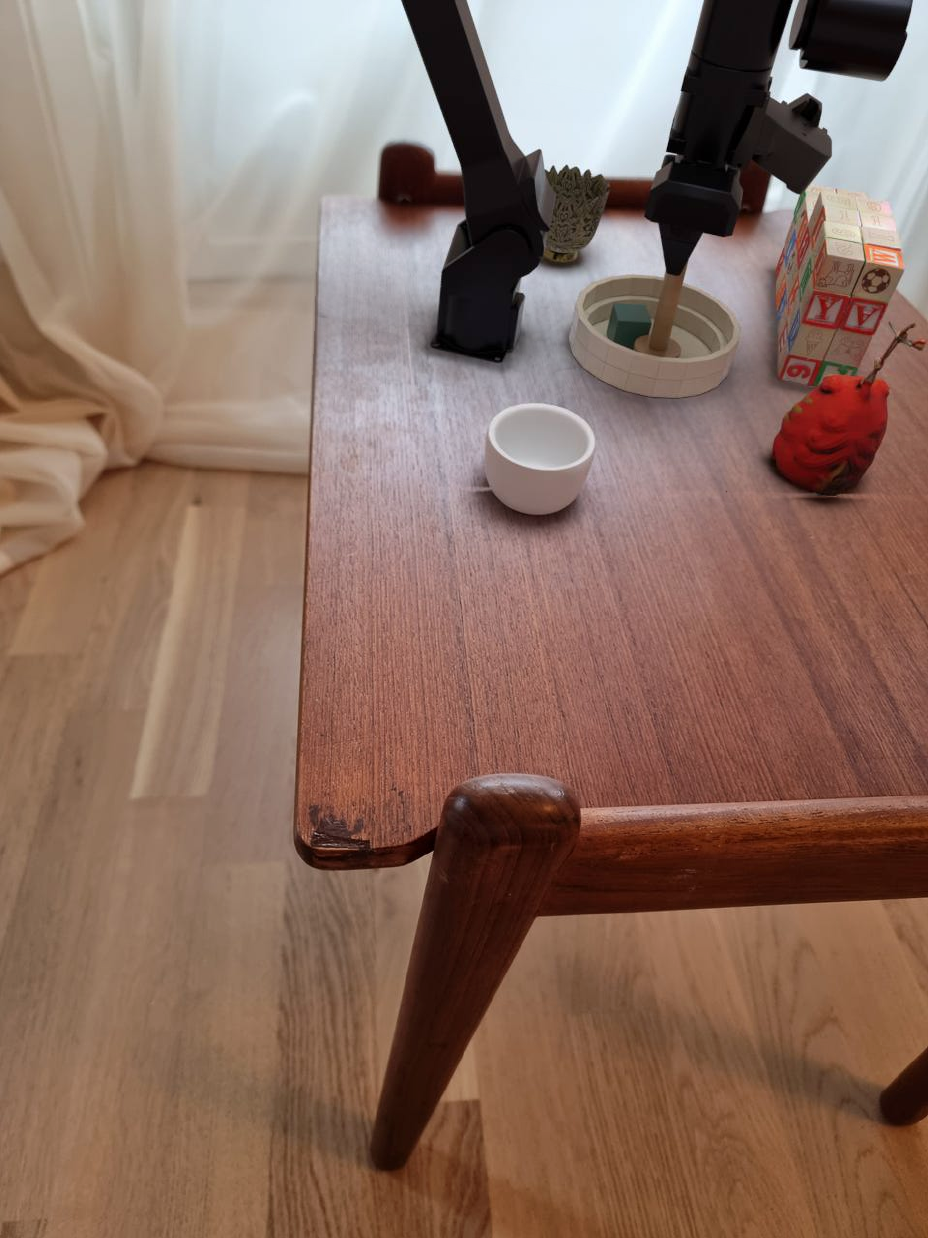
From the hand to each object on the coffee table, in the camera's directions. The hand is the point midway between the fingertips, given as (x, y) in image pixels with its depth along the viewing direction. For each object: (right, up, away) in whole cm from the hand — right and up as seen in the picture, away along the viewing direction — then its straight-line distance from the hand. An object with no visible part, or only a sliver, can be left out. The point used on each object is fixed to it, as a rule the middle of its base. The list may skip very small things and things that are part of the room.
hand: (674, 268), depth 79 cm
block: (-3, -4, +9) cm, 10 cm away
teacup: (-12, -18, -6) cm, 22 cm away
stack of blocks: (+16, -1, +14) cm, 21 cm away
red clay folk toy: (+11, -17, -1) cm, 20 cm away
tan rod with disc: (0, -6, +6) cm, 8 cm away
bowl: (-1, -5, +8) cm, 10 cm away
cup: (-8, +8, +19) cm, 22 cm away
